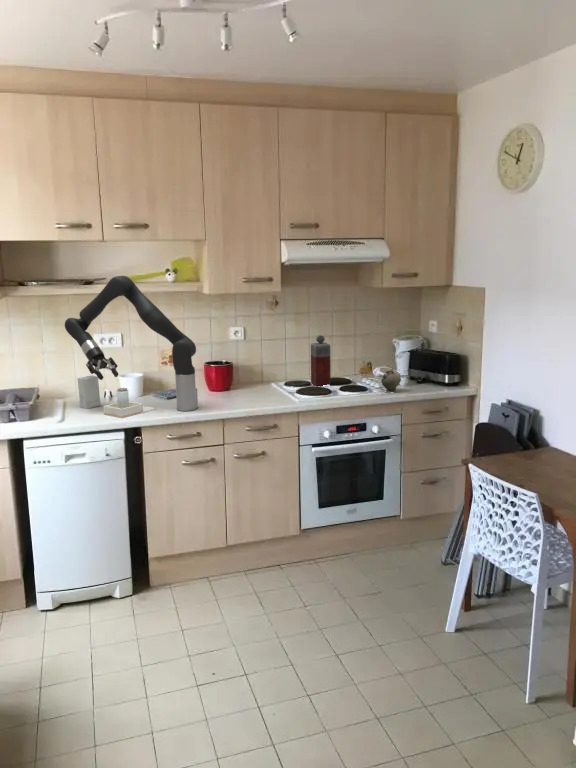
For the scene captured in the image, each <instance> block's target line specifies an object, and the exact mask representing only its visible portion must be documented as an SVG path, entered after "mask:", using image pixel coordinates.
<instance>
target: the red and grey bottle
mask: <svg viewBox="0 0 576 768" xmlns="http://www.w3.org/2000/svg"><path fill="white" fill-rule="evenodd" d="M315 339H316V342H312V343H310V384H311V383H312V384H313V385H314V386H323V385H327V384H331V385H332V383H331V377H332V375H331V372H332V371H331V344H329V343H327V342H325V340H326V339H325V336H324V335H322V334H321V335H320V334H319V335H317V336H316V337H315ZM314 386H313V387H314Z"/></svg>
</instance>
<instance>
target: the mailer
mask: <svg viewBox="0 0 576 768" xmlns="http://www.w3.org/2000/svg"><path fill="white" fill-rule="evenodd" d="M153 409H154V410H157V408H156V407H151V406H145V405H144V404H143V403H140V402H139V403H138V402H135V401H134V402H133V401H129V407H127V408H123V409H120V408H118V404H117V402H115V403H111V404H106V405H103V413H104V415H105V416H111V417H116V418H121V419H123V418H128V417H130V416H135V415H138V414H143V413H146V411H147V412H150V411H149V410H151V411H154V410H153ZM142 412H143V413H142Z"/></svg>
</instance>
